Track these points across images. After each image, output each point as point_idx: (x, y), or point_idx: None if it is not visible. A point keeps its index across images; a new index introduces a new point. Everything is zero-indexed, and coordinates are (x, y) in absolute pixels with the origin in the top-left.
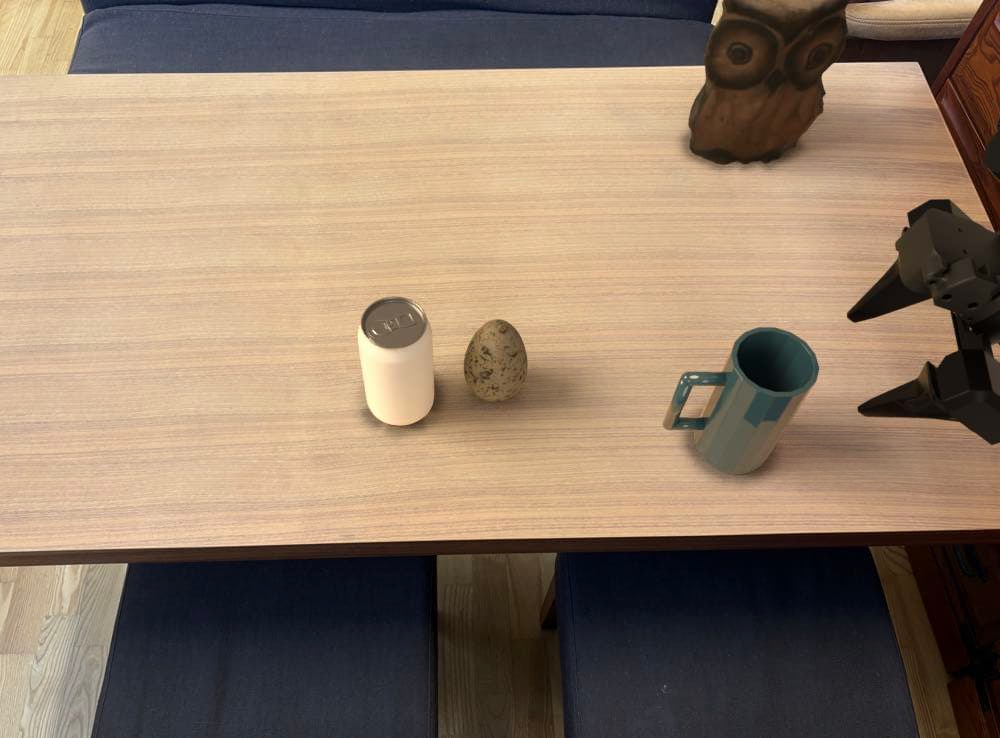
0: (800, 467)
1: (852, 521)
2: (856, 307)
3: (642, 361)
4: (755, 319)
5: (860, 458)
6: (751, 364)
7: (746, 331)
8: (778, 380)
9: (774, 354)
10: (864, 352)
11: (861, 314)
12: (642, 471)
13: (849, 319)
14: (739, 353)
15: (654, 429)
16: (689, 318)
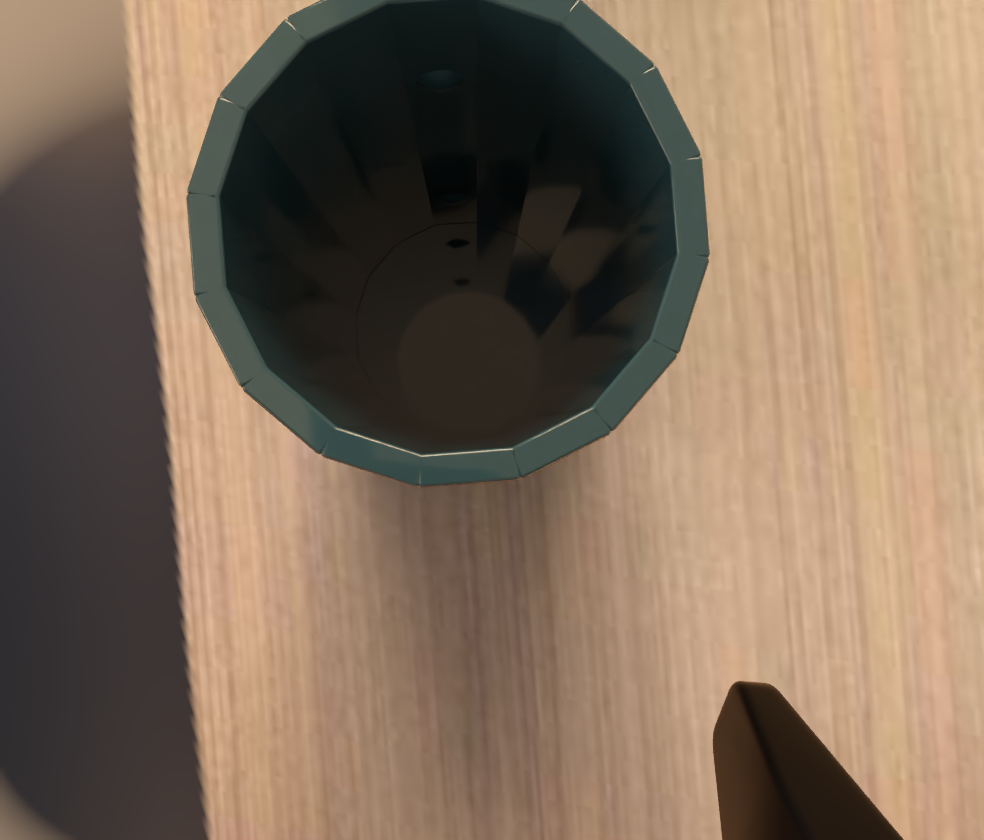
0: (388, 546)
1: (208, 681)
2: (791, 755)
3: (762, 62)
4: (978, 469)
5: (437, 744)
6: (615, 275)
7: (661, 76)
8: (559, 405)
9: (621, 335)
10: None
11: (744, 790)
12: None
13: (726, 700)
14: (600, 143)
15: None
16: (963, 237)
